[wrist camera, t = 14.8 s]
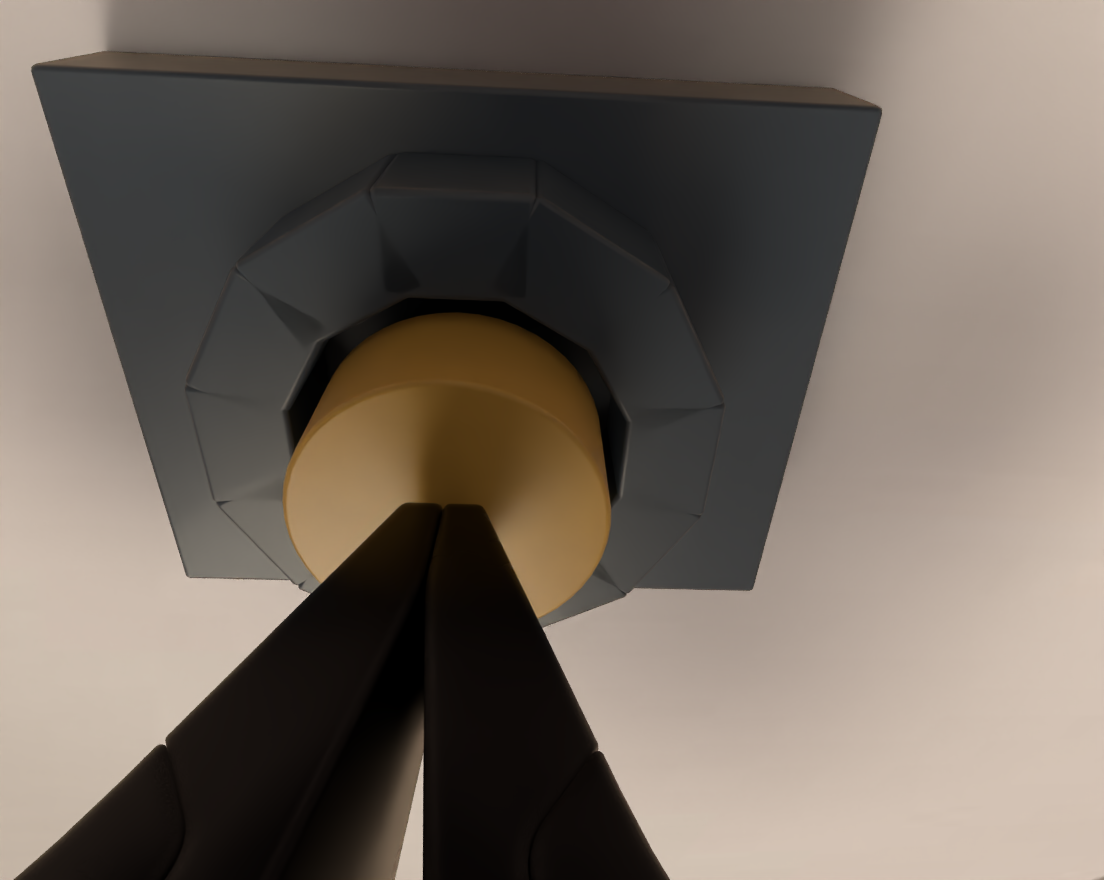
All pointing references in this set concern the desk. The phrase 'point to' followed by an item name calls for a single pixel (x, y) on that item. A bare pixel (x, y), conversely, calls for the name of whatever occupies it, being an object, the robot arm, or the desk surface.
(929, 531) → the desk surface
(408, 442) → the button
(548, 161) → the switch block
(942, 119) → the desk surface
